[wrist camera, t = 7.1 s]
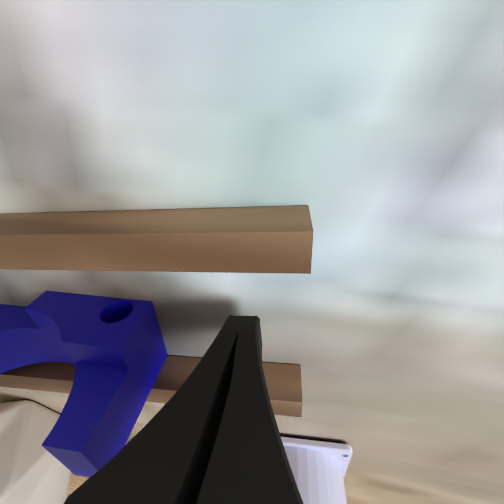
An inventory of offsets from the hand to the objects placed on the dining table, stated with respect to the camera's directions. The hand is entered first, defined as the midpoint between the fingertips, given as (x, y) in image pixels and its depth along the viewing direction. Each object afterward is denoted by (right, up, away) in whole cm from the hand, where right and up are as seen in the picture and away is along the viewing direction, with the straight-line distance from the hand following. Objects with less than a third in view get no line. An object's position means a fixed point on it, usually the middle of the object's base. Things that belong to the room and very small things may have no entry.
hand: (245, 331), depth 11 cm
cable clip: (-11, 0, +4) cm, 11 cm away
